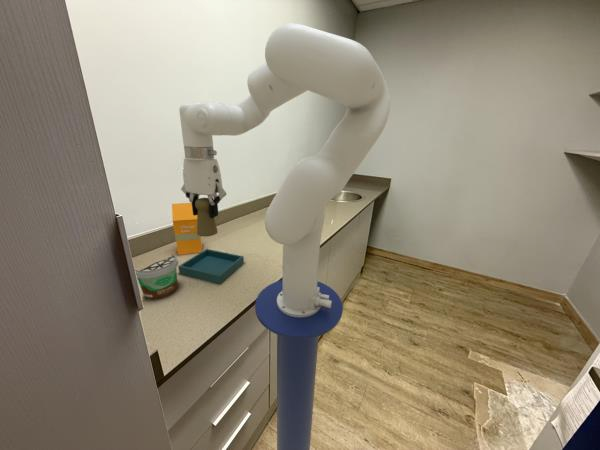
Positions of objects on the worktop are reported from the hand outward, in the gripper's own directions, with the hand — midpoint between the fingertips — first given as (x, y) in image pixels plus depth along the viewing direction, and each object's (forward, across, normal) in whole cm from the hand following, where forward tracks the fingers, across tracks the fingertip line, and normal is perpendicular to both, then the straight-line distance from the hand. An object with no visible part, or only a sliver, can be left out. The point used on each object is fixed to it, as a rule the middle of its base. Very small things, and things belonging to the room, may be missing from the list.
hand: (205, 214), depth 73 cm
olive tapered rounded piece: (+6, 0, 0) cm, 6 cm away
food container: (+23, +8, +11) cm, 27 cm away
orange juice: (+23, +22, -15) cm, 35 cm away
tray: (+23, +4, -6) cm, 24 cm away
